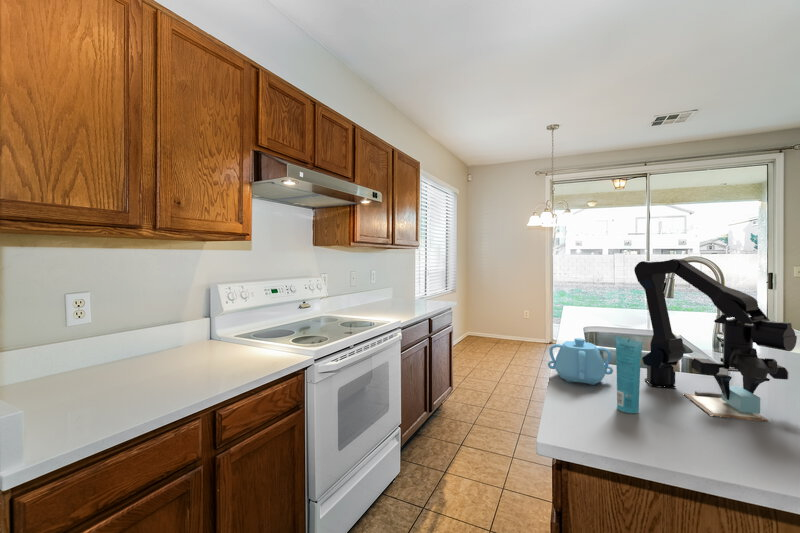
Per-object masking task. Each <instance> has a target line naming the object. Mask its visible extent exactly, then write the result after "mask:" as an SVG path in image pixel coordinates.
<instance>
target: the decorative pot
mask: <svg viewBox="0 0 800 533" xmlns="http://www.w3.org/2000/svg"><path fill="white" fill-rule="evenodd" d="M573 340H574V341H571V340H568V341H564V342H563V343H562V344H559V343H553V344H552V345H551V346H550V347H549V349H548V350H549V351H548V352H549V356H550V359H551V360H549V361H548V363H547V367H548V368H549V369H550V370H555V371H556V373H557V374H558V375H559V377H560V378H561V379H564V380H565V382H566V383H570V384H571V383H572V384H573V383H575V382H576V383H585V384H587V385H591V386H596V385H597V384H598V383H600V382H601V381H602V380H603V379H604V378H605V376H606V375H608V376H609V375H612V374H613V372H614V369H613V368H612V366H610V363H611V360H612V357H613V355H612V352H611V350H609V349H608V348H606V347H603V346H602V347H600V346H599V347H597V345H595V344H594V343H591V342H586V339H584V338H579V337H576V338H574V339H573ZM556 348H559V350H558V352H557V354H556V356H554V349H556ZM601 351H603V352H606V353H607V359H606V361H604V358H603V356H602V355H601ZM551 364H552V365H551ZM607 369H609V371H608V370H607Z"/></svg>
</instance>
